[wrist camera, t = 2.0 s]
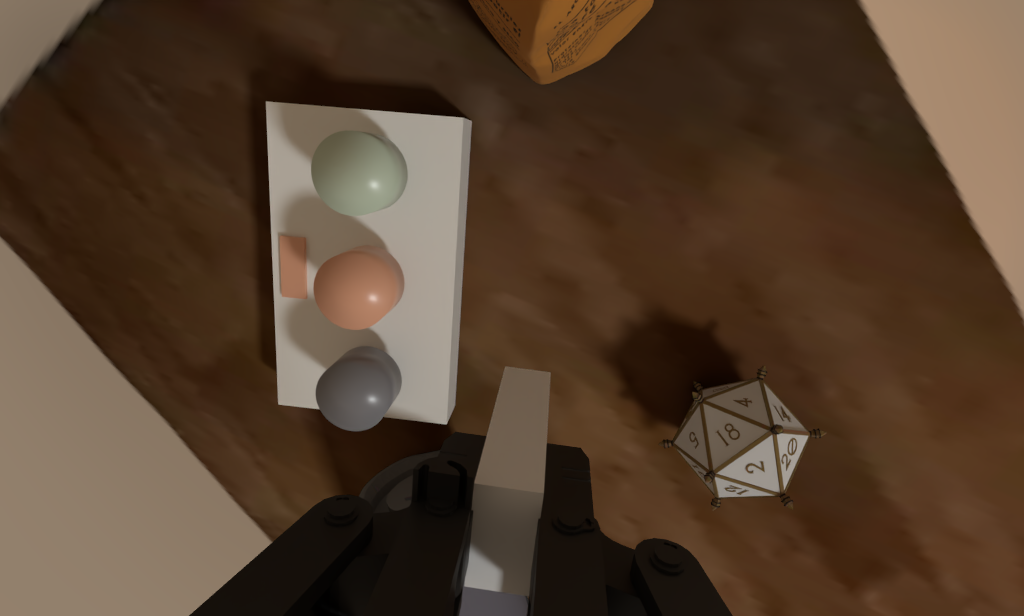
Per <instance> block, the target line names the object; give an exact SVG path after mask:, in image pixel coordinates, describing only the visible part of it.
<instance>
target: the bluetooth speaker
mask: <svg viewBox="0 0 1024 616" xmlns="http://www.w3.org/2000/svg"><path fill="white" fill-rule="evenodd" d="M439 453H440V450H438V451H433V452H428V453H423V454H418V455H413V456H409V457H406V458H404V459H401V460H399V461H397V462H395V463H393V464H391V465H390V466H388V467H387V468H385V469H384V470H382V471H381V472H379V473H378V474H377V475H376V476H374V477H373V478H372V479H371V480H370V481H369V482H368V483H367V484H366V485H365V486H364V488H363V489H362V491H361V493H360V495H359V497H361V498H363V499H365V500H367V501H368V502H369V503H370V505H371V506H372V507H373V513H383V512H392V511H398V510H401V509H404V508H407V507H409V506H410V504H411V501H412V483H413V469H414V468H415V467H416V465H417V464H418V463H420V462H422V461H424V460H426V459H428V458H433V457H438V454H439ZM464 584H465V581H464ZM527 608H528V598H527V596H523V595H516V594H510V593H503V592H497V591H491V590H484V589H478V588H471V587H465V586H464V585H463V593H462V603H461V609H460V614H459V616H526V615H527Z"/></svg>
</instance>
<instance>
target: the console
mask: <svg viewBox="0 0 1024 616" xmlns="http://www.w3.org/2000/svg"><path fill="white" fill-rule="evenodd" d="M266 118H267V142H268V166H269V190H270V214H271V239H272V263H273V287H274V311H275V336H276V360H277V384H278V404H279V405H288V406H296V407H304V408H313V409H319V407H318V404H317V401H316V385H317V382H318V380H319V378H320V377H321V375H322V374H323V373H324V372H325V371H326V370H327V369H328V368H329V367H330V366H332V365H333V364H334V363H335V362H336V361H337V360H338V359H339V358H340V357H342V356H343V355H344V354H345V353H346V352H347V351H349V350H351V349H353V348H356V347H360V346H370V347H375V348H378V349H380V350H382V351H384V352H386V353H387V354H388V355H390V356H391V357H392V358H393V360H394V361H395V362H396V364H397V365H398V367H399V369H400V372H401V377H402V386H401V390H400V392H399V394H398V396H397V398H396V399H395V401H394V402H393V403H392V405H391V406H390V408H389V409H388V411H387V412H386V414H385V415H384V417H387V418H396V419H404V420H412V421H421V422H429V423H437V424H446V425H447V423H448V420H449V418H450V416H451V414H452V411H453V409H454V407H455V398H456V381H457V364H458V347H459V330H460V313H461V296H462V278H463V261H464V244H465V227H466V210H467V193H468V176H469V159H470V142H471V125H472V121H471V120H468V119H465V118H461V117H448V116H436V115H424V114H412V113H400V112H388V111H376V110H364V109H352V108H339V107H327V106H315V105H303V104H291V103H279V102H267V101H266ZM346 130H347V131H359V132H368V133H375V134H379V135H382V136H384V137H386V138H388V139H389V140H391V141H392V142H393V143H394V144H395V145H396V146H397V147H398V148H399V150H400V151H401V153H402V154H403V156H404V159H405V161H406V165H407V171H408V178H407V184H406V187H405V190H404V192H403V194H402V196H401V197H400V198H399V199H398V201H397V202H395V203H394V204H393V205H391V206H390V207H388V208H385V209H382V210H379V211H376V212H372V213H369V214H365V215H362V216H349V215H344V214H341V213H339V212H336V211H335V210H333V209H331V208H330V207H329V206H328V205H326V204H325V203H324V202H323V200H322V199H321V198H320V196H319V195H318V193H317V191H316V189H315V187H314V184H313V181H312V176H311V163H312V158H313V155H314V153H315V151H316V149H317V147H318V146H319V144H320V143H321V142H322V141H323V140H324V139H325V138H326V137H328V136H330V135H331V134H334V133H336V132H339V131H346ZM364 245H370V246H375V247H379V248H381V249H383V250H385V251H387V252H388V253H389V254H391V255H392V256H393V257H394V258H395V259H396V261H397V262H398V263H399V265H400V267H401V269H402V271H403V275H404V282H405V286H404V292H403V295H402V298H401V299H400V301H399V302H398V304H397V305H396V306H395V307H394V308H393V309H392V310H391V311H390V312H388V313H387V314H386V315H385V316H384V317H383V318H382V319H381V320H379V321H378V322H377V323H376V324H374V325H373V326H371V327H368V328H366V329H361V330H350V329H345V328H342V327H340V326H337V325H336V324H334V323H332V322H331V321H330V320H328V319H327V318H326V317H325V316H324V315H323V313H322V312H321V311H320V309H319V307H318V305H317V303H316V300H315V297H314V290H313V287H314V279H315V276H316V273H317V271H318V270H319V268H320V267H321V266H322V265H323V263H325V262H326V261H327V260H328V259H330V258H332V257H334V256H336V255H339V254H341V253H343V252H346V251H348V250H350V249H352V248H355V247H358V246H364Z"/></svg>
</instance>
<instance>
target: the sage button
mask: <svg viewBox="0 0 1024 616" xmlns="http://www.w3.org/2000/svg"><path fill="white" fill-rule="evenodd" d="M311 176H312V181H313V184H314V187H315V189H316V191H317V193H318V195H319V196H320V198H321V199H322V200H323V202H324V203H325V204H326V205H328V206H329V207H330V208H331V209H333V210H335V211H336V212H339V213H341V214H344V215H349V216H362V215H365V214H369V213H372V212H376V211H379V210H382V209H385V208H388V207H390V206H391V205H393V204H394V203H395V202H397V201H398V199H399V198H400V197H401V196H402V194H403V192H404V190H405V187H406V184H407V178H408V171H407V165H406V161H405V159H404V156H403V154H402V153H401V151H400V150H399V148H398V147H397V146H396V145H395V144H394V143H393V142H392V141H391V140H389V139H388V138H386V137H384V136H382V135H379V134H375V133H368V132H359V131H347V130H346V131H339V132H336V133H334V134H331V135H330V136H328V137H326V138H325V139H324V140H323V141H322V142H321V143H320V144H319V146H318V147H317V149H316V151H315V153H314V155H313V158H312V163H311Z"/></svg>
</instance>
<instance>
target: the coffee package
mask: <svg viewBox="0 0 1024 616" xmlns="http://www.w3.org/2000/svg"><path fill="white" fill-rule="evenodd" d="M468 1H469V2H470V4H471V6H472V7H473V9H474V10H475V12H476V13H477V15H478V16H479V18H480V19H481V21H482V22H483V23H484V25H485V26H486V27H487V29H488V30H489V31H490V33H491V34H492V35H493V37H494V38H495V39H496V41H497V42H498V43H499V45H500V46H501V47H502V48H503V49H504V50H505V52H506V53H507V54H508V55H509V56H510V58H511V59H512V60H513V61H514V62H515V63H516V64H517V65H518V67H519V68H520V69H521V70H522V71H523V72H525V73H526V74H527V75H528V76H529V77H530V78H531V79H532V80H533V81H534V82H536V83H538V84H549V83H552V82H555V81H557V80H559V79H561V78H563V77H565V76H567V75H570V74H572V73H575V72H577V71H579V70H581V69H583V68H585V67H587V66H589V65H591V64H593V63H595V62H597V61H598V60H600V59H601V58H603V57H604V56H606V54H607V53H608V52H609V51H610V50H611V49H612V47H613V46H614V45H615V44H616V43H618V42H619V41H620V40H621V39H622V38H624V37H625V36H626V35H627V34H628V33H629V32H630V31H631V30H632V29H633V28H634V26H635V25H636V24H637V23H638V22H639V21H640V20H641V19H642V18H643V17H644V16H645V15H646V14H647V12H648V11H649V10H650V9H651V7H652V5H653V2H654V0H468Z"/></svg>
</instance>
